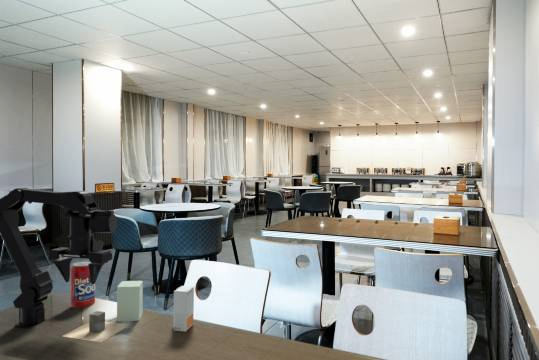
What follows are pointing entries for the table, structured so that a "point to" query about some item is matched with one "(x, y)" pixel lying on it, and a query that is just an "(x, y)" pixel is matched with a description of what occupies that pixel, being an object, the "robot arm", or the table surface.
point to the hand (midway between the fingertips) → (80, 283)
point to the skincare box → (183, 308)
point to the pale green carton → (129, 300)
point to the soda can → (81, 286)
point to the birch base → (96, 336)
